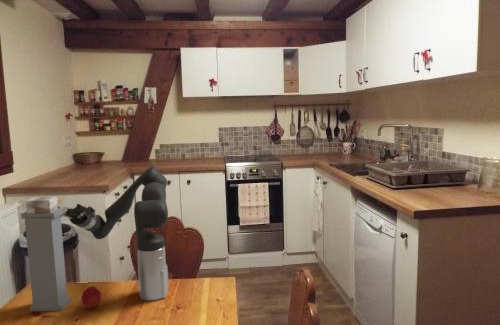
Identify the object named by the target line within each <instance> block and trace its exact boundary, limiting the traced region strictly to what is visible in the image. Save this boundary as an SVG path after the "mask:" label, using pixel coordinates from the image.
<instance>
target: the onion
mask: <svg viewBox="0 0 500 325" xmlns="http://www.w3.org/2000/svg"><path fill="white" fill-rule="evenodd" d="M101 296H102V294H101V291H100V290H99V289H98V288H97V287H96V286H93V285H91V283H90V284H88V285H87V287H86V288H85V289H84V290H83V292H82V294H81V296H80V301H81V303H82V305H83V306H85V307H86V308H89V309H93V308H94V307H96V306H97V305H98V304H99V303H100V301H101Z"/></svg>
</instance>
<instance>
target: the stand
mask: <svg viewBox="0 0 500 325" xmlns="http://www.w3.org/2000/svg"><path fill="white" fill-rule="evenodd" d="M62 213H63V207H62V208H58V209H57V210H55V211H53V212H51V213H31V214H27V210H26V211H25V212H22V213H20V217H21V220H22V219H24V225H25V226H24V228H25V235H26V245H27V246H26V247H27V259H28V266H29V277H30V288H31V296H32V297H31V299H32V304H31V305H30V306H29V309H30V310H29V311H30V312H52V311H54V312H56V311H58V312H60V311H63V310H65V308H66V307H67V306H68V305H69V304H70V302H71V301H72V300H71V296H68V289H67V278H66V277H67V276H66V275H67V274H66V266H65V265H66V264H65V254H64V240H63V230H62V228H63V227H62V219H61V218H62V217H61V214H62Z"/></svg>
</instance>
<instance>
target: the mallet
mask: <svg viewBox="0 0 500 325" xmlns="http://www.w3.org/2000/svg"><path fill="white" fill-rule="evenodd" d="M62 199H63V197H62V196H36V197H32V198H29V199H27V200H26V201H25V202H26V203H25V204H26V205H25V206H26V211H27V214H31V213H51V212H53V211H55V210H57V209H58V206H59V205H60V204H63V200H62Z"/></svg>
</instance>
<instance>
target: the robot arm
mask: <svg viewBox="0 0 500 325" xmlns="http://www.w3.org/2000/svg"><path fill="white" fill-rule="evenodd" d="M167 184H168V179H167V178H166V177H165V175H164V174H163V173H161V171H159V169H158V168H157V167H155V166H150V167H147V169H145V171H143V172H142V173H141V174H140V175H139V176H138V177H137V178H136V179H135V181H134V182H133V183H132V184H130V186H129V187H128V188H127V189H126V190H125V191H124V192H123V194H122V195H121V196H120V197H119V198H118V199H117V200H115V201H114V202H112V204H111V205H110V206H108V207H107V208H106V209H105V210H104V216H105V219H104V218H103V217H102V216H101V215H100V214H96V209H94V207H92V206H87V207H86V206H85V205H81V204H80V203H77V204H76V206H75V207H68V206H67V207H66V206H62V207H61V206H59V205H57V206H58V208H63V213H62V214H61V218H62V217H63V218H68V220H69V221H70V223H71V224H73V225H75V226H77V227H78V228H79V229H84V230H85V231H88V232H90V233H91V234H92V235H93V237H94V238H95V239H96V240H103V239H104V238H106V237H108V235H109V234H110V233H111V231H112V230H113V229H114V226H115V225H116V224H117V222H118V221H119V220H120V219H122V218H123V217H124V216H125V215H126V214H127V213H128V212H129V211H130V210H131V208H132V205H133V203H134V199H135V196H136V192H137V191H138V189H139V188H140V187H141V186H144V187H143V188H142V192H141V200H139V201H136V202H135V204H134V207H133V213H134V214H133V216H134V224H135V233H136V234H135V235H136V253H137V254H136V256H137V273H138V276H137V277H138V288H139V289H138V292H139V298H140V299H141V300H143V301H148V302H149V301H157V300H160V299H165V298H166V297H167V294H168V291H169V274H168V264H167V263H166V262H167V261H166V242H165V237H164V236H163V235H161V234H157V233H154V232H151V231H149V230H147V229H152V228H153V229H154V228H161V227H164V226H165V225H166V224H167V223H168V218H169V211H168V204H167V192H166V188H167Z"/></svg>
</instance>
